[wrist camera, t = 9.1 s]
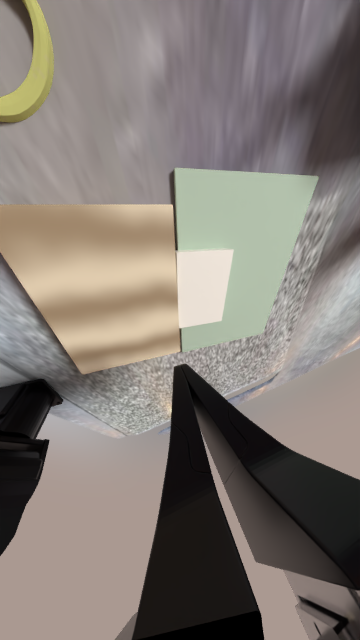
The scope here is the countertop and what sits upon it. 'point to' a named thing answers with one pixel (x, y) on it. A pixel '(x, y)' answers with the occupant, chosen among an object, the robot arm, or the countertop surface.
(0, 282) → the countertop surface
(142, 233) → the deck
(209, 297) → the white flat block
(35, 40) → the key
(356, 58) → the countertop surface
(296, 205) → the mat
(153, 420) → the countertop surface
